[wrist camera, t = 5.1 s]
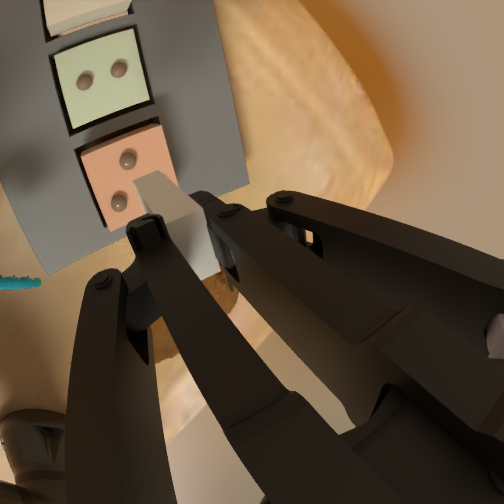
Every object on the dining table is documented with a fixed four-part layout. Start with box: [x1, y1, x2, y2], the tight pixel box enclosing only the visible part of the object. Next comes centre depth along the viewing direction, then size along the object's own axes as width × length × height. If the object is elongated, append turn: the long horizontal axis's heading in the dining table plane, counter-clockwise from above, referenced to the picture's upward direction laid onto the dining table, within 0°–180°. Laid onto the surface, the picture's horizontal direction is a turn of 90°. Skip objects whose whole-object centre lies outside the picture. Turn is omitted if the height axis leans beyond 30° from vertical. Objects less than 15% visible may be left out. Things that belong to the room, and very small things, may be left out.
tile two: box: [54, 29, 150, 129], centre depth 17 cm, size 6×6×3 cm
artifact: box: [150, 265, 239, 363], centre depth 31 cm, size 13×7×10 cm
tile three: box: [81, 123, 179, 232], centre depth 21 cm, size 6×6×3 cm
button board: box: [0, 0, 250, 275], centre depth 18 cm, size 20×26×2 cm
